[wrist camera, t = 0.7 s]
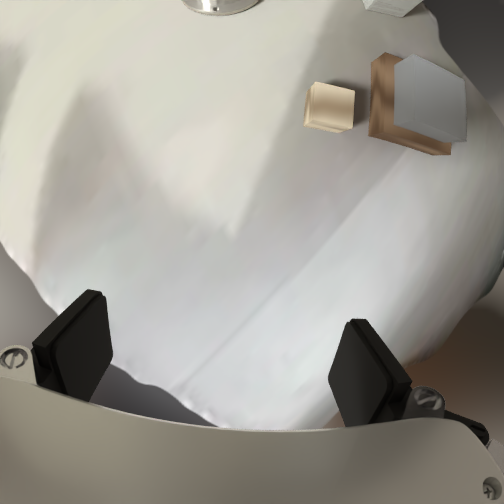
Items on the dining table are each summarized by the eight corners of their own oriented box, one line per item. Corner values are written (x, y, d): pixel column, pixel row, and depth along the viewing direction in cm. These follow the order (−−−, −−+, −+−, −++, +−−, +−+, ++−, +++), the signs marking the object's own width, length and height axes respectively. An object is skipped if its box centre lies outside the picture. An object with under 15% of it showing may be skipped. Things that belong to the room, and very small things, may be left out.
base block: (370, 63, 32) (385, 52, 27) (432, 87, 33) (450, 81, 28) (367, 136, 35) (383, 132, 30) (431, 155, 36) (450, 155, 31)
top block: (394, 65, 27) (413, 53, 23) (443, 86, 28) (464, 80, 23) (393, 124, 30) (414, 119, 25) (443, 142, 30) (466, 141, 26)
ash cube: (306, 92, 33) (315, 81, 28) (341, 99, 33) (354, 90, 28) (303, 126, 34) (312, 119, 29) (338, 133, 35) (352, 128, 30)
